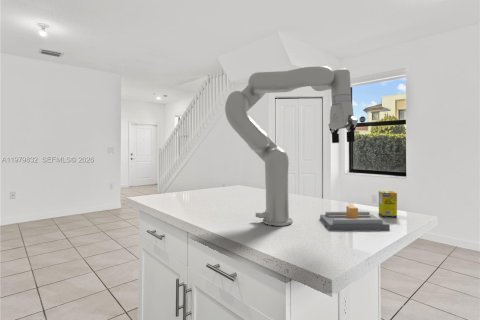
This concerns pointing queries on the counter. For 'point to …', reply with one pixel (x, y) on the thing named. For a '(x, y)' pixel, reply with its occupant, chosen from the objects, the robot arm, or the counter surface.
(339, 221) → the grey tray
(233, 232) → the counter surface
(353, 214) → the block
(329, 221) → the breaker panel
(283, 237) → the counter surface
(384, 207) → the supplement box
